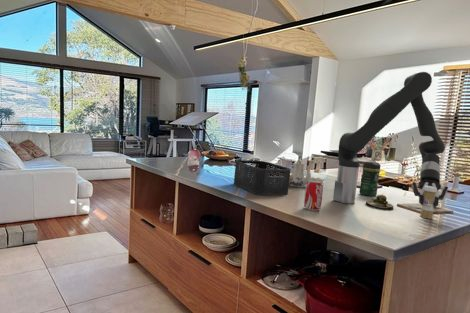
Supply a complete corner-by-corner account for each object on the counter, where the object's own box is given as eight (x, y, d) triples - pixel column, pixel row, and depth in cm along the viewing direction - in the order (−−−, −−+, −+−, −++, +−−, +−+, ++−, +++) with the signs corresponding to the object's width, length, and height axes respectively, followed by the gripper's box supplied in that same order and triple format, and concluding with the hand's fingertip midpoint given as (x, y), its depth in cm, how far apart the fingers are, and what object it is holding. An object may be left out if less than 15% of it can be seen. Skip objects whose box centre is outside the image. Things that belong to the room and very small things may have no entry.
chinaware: (326, 190, 192) (330, 162, 192) (317, 191, 178) (322, 161, 178) (283, 182, 207) (287, 156, 207) (272, 182, 193) (276, 154, 193)
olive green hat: (360, 204, 156) (362, 188, 155) (378, 203, 161) (380, 188, 160) (380, 211, 145) (382, 194, 144) (399, 210, 150) (401, 194, 149)
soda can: (311, 211, 132) (314, 182, 131) (299, 207, 138) (302, 179, 137) (324, 211, 135) (327, 182, 134) (312, 206, 141) (315, 179, 140)
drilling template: (422, 213, 145) (425, 194, 144) (396, 205, 158) (399, 187, 157) (453, 212, 153) (455, 194, 152) (426, 205, 166) (428, 187, 165)
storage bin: (290, 195, 163) (293, 168, 161) (257, 196, 154) (260, 168, 152) (261, 183, 188) (263, 160, 187) (231, 184, 179) (233, 159, 178)
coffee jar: (370, 197, 175) (375, 162, 173) (357, 193, 181) (361, 160, 179) (379, 195, 181) (383, 162, 179) (365, 192, 187) (369, 160, 185)
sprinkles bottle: (419, 217, 139) (423, 186, 138) (421, 215, 142) (425, 185, 141) (431, 219, 136) (436, 188, 135) (433, 217, 139) (437, 187, 138)
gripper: (413, 166, 147) (410, 196, 137) (450, 170, 141) (450, 203, 131) (411, 176, 152) (408, 206, 143) (447, 181, 146) (446, 213, 136)
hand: (428, 204), depth 137 cm, fingers closed on sprinkles bottle, 4 cm apart
